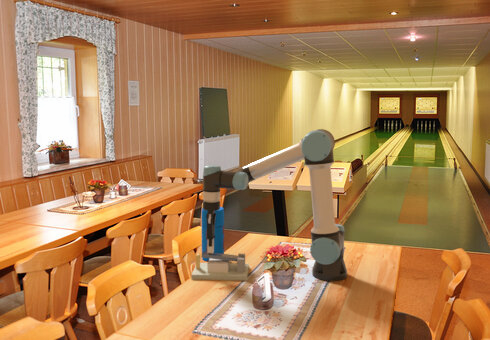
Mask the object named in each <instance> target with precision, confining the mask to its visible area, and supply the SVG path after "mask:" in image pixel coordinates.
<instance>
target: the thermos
mask: <svg viewBox="0 0 490 340" xmlns="http://www.w3.org/2000/svg"><path fill="white" fill-rule="evenodd" d="M207 213H208V211H207V210H204V209H203V207H202V208H201V216H200V217H201V253H202V252H203V251H205V252H207V239H206V237H207V221H206V220H207V218H206V214H207ZM215 213H216V217H215V235H214V236H216V238H214V253H221V254H225V209H224V207H222V206H220V209H219V210H217V211H215ZM201 259H202V261H204V262H205V263H208V261H209V259H210V258H204V257H201Z"/></svg>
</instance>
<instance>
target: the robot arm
mask: <svg viewBox="0 0 490 340" xmlns="http://www.w3.org/2000/svg"><path fill="white" fill-rule="evenodd" d="M335 146H336V139H335V136H334V135H333V134H332V133H331V132H330V131H329V130H327V129H324V128H320V129H314V130H311V131H309V132H308V133H306V134H305V136H304V137H303V138H301V139H300V141H298V142H297V143H295V144H293V145H290V146H289V147H286V148H284V149H281V150H279V151H277V152H275V153H273V154H270V155H268V156H265V157H262V158H261V159H258V160H256V161H254V162H250V164H247V165H244V166H241V167H239V168H237V169H234V170H233V171H231V170H229V171H228V170H222V168H221V166H220V165H217V164H207V165H204V167H203V173H202V192H201V195H202V200H203V201H202V208H203V209H204V210H207V211H208V213H207V214H206V218H207V220H206V221H207V237H206V239H207V253H214V238H216V236H214V235H215V217H216V213H215V211H217V210H219V209H220V207H221V201H220V200H221V189H229V190H237V191H240V190H241V191H242V190H246V189H247V188H248V186H249V183H251V182H253V181H256V180H259V179H261V178H263V177H266V176H268V175H271V174H272V173H274V172H277V171H280V170H283V169H284V168H288V167H290V166H292V165H294V164H296V163H299V162H301V161H304V166H305V167H306V168H308V171H309V173H308V174H309V181H310V182H309V183H310V195H311V206H312V207H311V208H312V217H313V226H312V228H311V230H310V235H311V236H310V238H311V244H310V247H309V248H310V255H311V257H312V259H314V263H313V267H312V270H311V274H312V276H313V277H314V278H317V279H319V280H322V281H330V282H335V281H342V280H345V279H346V278H347V277H348V270H347V267H346V263H345V259H344V253H345V252H344V251H345V250H344V249H345V233H346V232H345V226H344V225H342V224H341V223H340V224H338V223H336V220H335V208H334V205H335V203H334V195H333V184H332V183H333V181H332V169H331V167H332V166H333V164H334V163H335V160H334V149H335Z"/></svg>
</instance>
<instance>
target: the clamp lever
mask: <svg viewBox="0 0 490 340" xmlns="http://www.w3.org/2000/svg"><path fill="white" fill-rule="evenodd" d="M202 257H204V258H212V259H219V260H227V261H230V262H235V263H237V259H238V258H244V256H242V255H241V256H238V255H236V254H230V253H229V254H227V253H224V254H221V253H207V252H205V251H203V252H202V251H201V255H200V258H202Z"/></svg>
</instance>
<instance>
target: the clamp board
mask: <svg viewBox="0 0 490 340" xmlns="http://www.w3.org/2000/svg"><path fill="white" fill-rule="evenodd" d="M241 255H242V256H244V258H238V259H237V262H235V263H233V262H231V261H227V260H219V259H212V258H210V259H209V261H208V262H201V254H200V253H196V254H195V266H194V269H193V271H192V272H191V275H190V278H191V280H208V281H209V280H212V281H213V280H215V281H216V280H218V281H248V278H249V277H248V276H249V269H250V264H249V263H246V253H238V255H237V256H241Z"/></svg>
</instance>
